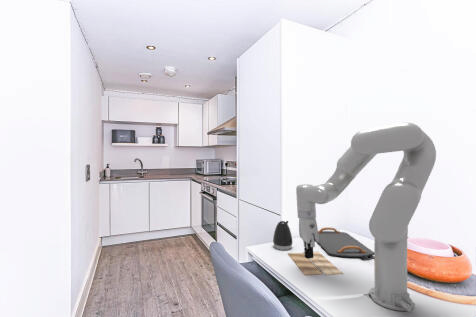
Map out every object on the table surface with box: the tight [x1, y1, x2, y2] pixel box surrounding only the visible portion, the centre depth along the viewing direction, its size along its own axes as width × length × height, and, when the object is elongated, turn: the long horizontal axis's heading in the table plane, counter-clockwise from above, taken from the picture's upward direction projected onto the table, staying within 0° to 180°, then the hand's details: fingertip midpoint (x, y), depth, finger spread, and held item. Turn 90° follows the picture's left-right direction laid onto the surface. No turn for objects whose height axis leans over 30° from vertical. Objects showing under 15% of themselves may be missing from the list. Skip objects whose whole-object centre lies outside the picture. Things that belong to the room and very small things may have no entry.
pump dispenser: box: [272, 220, 293, 251], centre depth 129 cm, size 10×10×15 cm
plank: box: [287, 252, 324, 276], centre depth 109 cm, size 22×8×1 cm, turn 7°
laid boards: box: [302, 251, 344, 276], centre depth 110 cm, size 24×8×1 cm, turn 7°
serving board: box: [317, 226, 374, 259], centre depth 133 cm, size 39×23×6 cm, turn 0°
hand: (309, 257), depth 101 cm, fingers closed
